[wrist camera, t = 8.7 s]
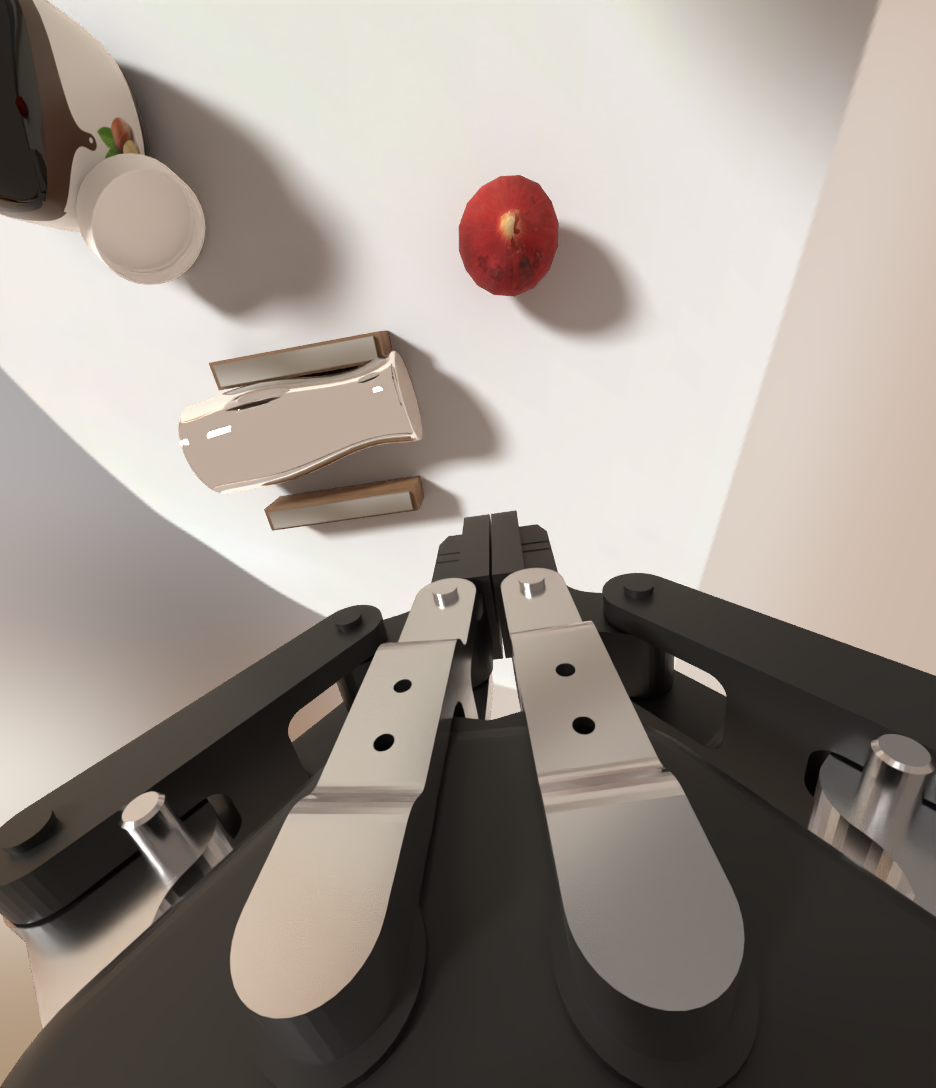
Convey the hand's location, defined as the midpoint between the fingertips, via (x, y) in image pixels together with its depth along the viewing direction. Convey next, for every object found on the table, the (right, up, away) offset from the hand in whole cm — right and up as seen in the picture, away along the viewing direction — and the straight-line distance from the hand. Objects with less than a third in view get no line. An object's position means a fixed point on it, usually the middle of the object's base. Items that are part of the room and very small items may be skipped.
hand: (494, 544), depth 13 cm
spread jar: (-23, +24, +16) cm, 37 cm away
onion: (+2, +20, +17) cm, 26 cm away
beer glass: (-5, +10, +18) cm, 22 cm away
